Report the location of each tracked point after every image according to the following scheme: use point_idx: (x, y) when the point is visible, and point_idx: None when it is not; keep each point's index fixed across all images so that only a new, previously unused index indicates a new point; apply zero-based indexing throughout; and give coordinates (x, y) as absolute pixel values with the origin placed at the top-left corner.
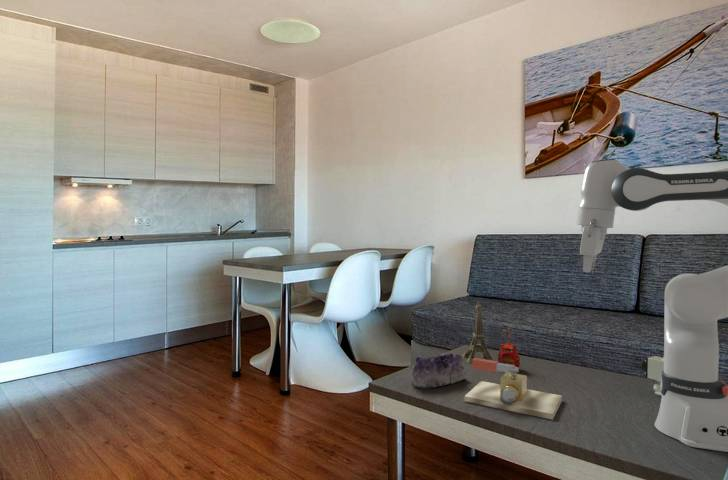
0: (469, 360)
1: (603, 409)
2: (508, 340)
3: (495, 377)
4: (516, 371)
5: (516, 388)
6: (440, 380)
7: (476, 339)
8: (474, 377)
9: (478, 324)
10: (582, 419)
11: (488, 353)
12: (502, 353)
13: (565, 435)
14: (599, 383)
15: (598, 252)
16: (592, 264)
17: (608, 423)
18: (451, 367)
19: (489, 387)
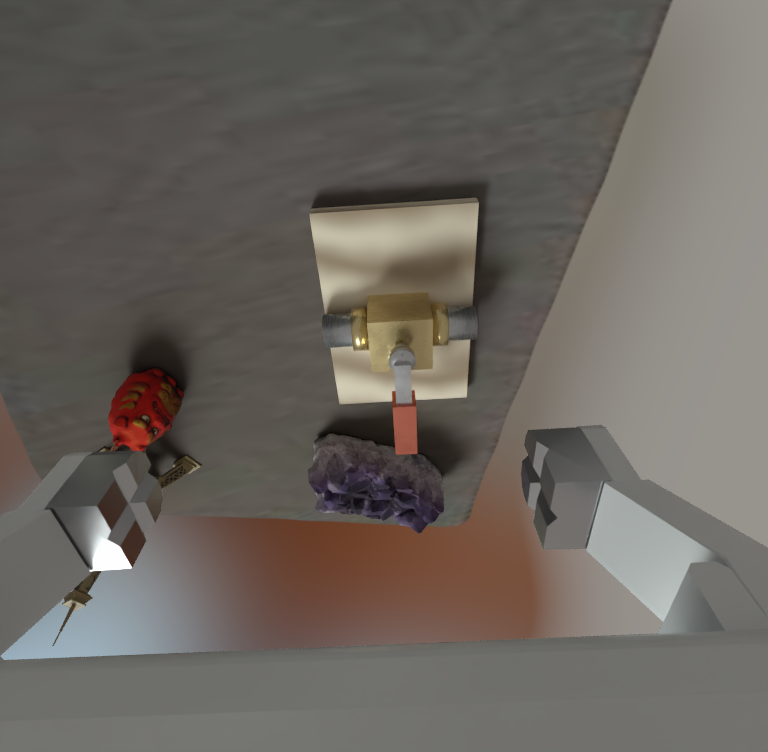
0: (191, 469)
1: (299, 75)
2: (114, 449)
3: (253, 391)
4: (410, 349)
5: (433, 320)
6: (406, 460)
7: None
8: (292, 423)
9: None
10: (429, 123)
11: None
12: (164, 429)
13: (570, 143)
14: (32, 133)
15: (217, 693)
16: (110, 512)
17: (418, 39)
18: (381, 470)
19: (374, 377)
